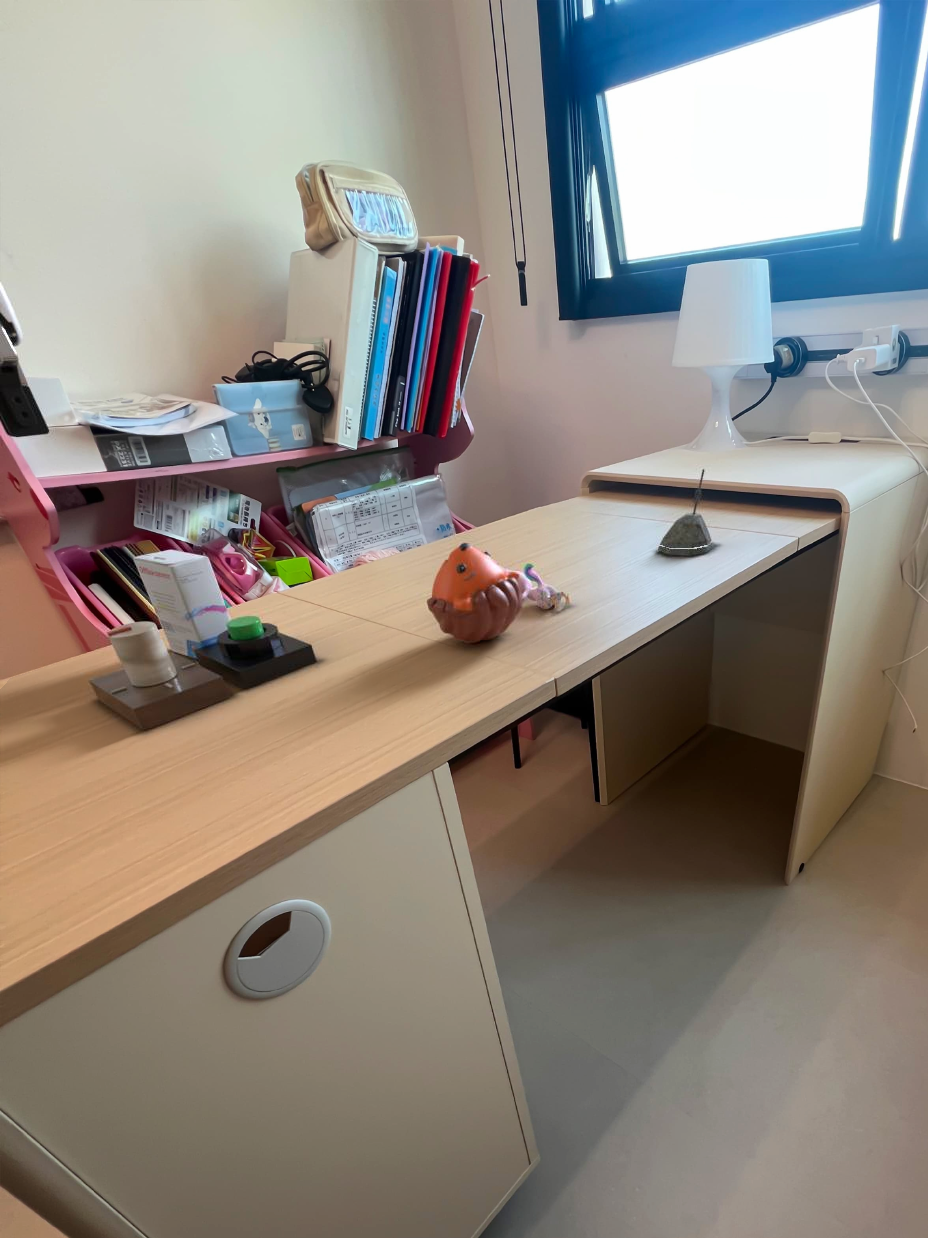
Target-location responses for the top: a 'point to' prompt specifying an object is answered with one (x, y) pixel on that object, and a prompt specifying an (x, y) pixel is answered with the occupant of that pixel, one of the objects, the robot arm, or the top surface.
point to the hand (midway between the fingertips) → (29, 434)
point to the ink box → (184, 598)
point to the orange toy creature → (474, 595)
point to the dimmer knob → (142, 653)
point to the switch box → (255, 656)
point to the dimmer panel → (161, 694)
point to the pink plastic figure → (538, 589)
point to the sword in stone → (688, 533)
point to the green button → (245, 627)
